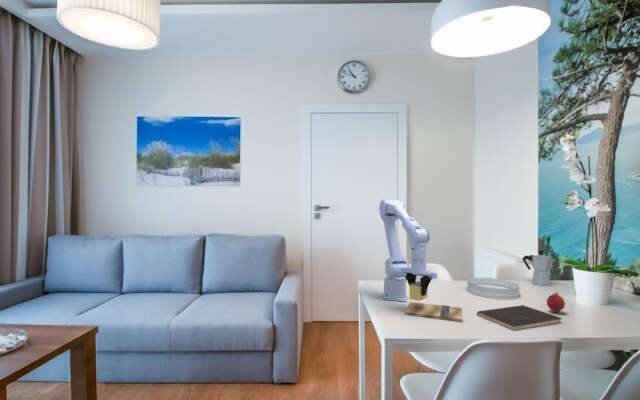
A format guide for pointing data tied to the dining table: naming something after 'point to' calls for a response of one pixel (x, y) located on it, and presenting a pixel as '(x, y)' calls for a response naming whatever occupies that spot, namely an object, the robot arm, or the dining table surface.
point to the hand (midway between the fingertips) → (418, 294)
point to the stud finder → (417, 291)
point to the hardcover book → (519, 317)
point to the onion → (555, 302)
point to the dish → (493, 288)
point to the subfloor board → (434, 311)
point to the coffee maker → (540, 268)
